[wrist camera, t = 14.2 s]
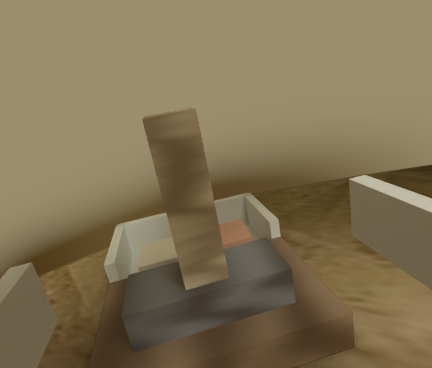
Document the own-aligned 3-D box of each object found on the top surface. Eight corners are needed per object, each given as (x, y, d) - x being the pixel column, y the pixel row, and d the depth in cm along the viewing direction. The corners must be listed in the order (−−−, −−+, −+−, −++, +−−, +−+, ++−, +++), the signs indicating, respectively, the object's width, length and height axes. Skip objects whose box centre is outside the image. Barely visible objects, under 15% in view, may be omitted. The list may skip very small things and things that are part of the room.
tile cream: (188, 255, 35) (182, 233, 34) (193, 279, 30) (187, 254, 30) (146, 266, 34) (140, 244, 34) (145, 292, 30) (137, 267, 29)
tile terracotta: (244, 240, 36) (240, 218, 35) (257, 261, 31) (253, 236, 30) (204, 250, 35) (200, 229, 35) (212, 273, 31) (207, 248, 30)
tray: (254, 224, 41) (249, 192, 40) (283, 260, 32) (278, 219, 30) (127, 258, 39) (116, 224, 37) (118, 307, 29) (103, 265, 28)
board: (283, 260, 32) (280, 236, 31) (354, 346, 21) (352, 312, 20) (118, 307, 29) (109, 283, 29) (95, 435, 18) (79, 400, 17)
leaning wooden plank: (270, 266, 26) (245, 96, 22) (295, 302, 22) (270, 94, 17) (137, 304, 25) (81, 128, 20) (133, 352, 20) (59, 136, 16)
